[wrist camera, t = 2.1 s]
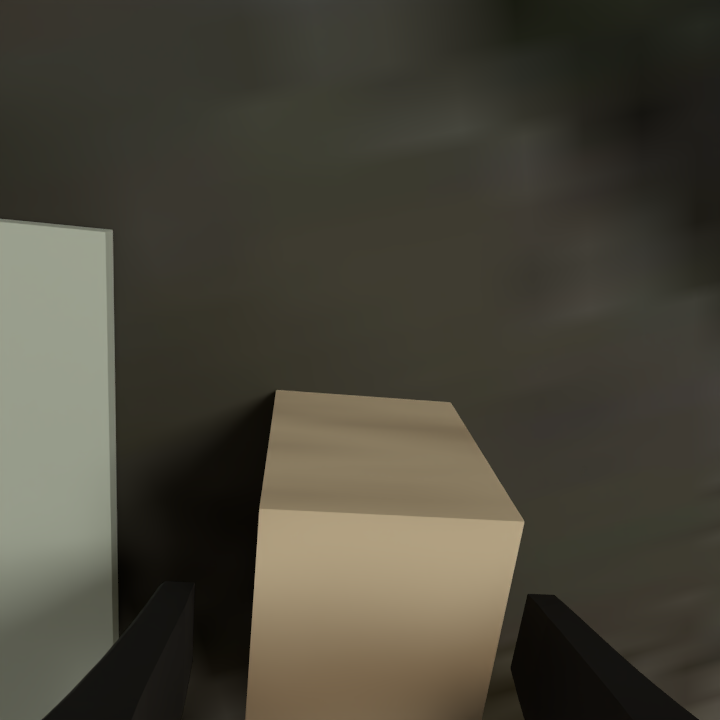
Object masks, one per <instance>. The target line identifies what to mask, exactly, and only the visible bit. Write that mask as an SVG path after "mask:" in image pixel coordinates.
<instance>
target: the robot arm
mask: <svg viewBox="0 0 720 720" xmlns="http://www.w3.org/2000/svg"><path fill="white" fill-rule="evenodd" d="M194 597H195V582H172V581H165V582H163V583H162V584H161V585H160V586H159V587H158V588H157V590H156V591H155V593H154V594H153V595H152V597H151V598H150V600H149V601H148V602H147V604H146V605H145V606H144V608H143V609H142V610H141V612H140V613H139V614H138V615H137V617H136V618H135V619H134V620H133V622H132V623H131V624H130V625H129V627H128V628H127V629H126V630H125V632H124V633H123V634H122V635H121V636H120V637H119V639H118V640H117V641H116V642H115V643H114V645H113V646H112V647H111V648H110V649H109V650H108V652H107V653H106V654H105V655H104V656H103V657H102V658H101V660H100V661H99V662H98V663H97V664H96V665H95V666H94V667H93V668H92V669H91V670H90V671H89V672H88V674H87V675H86V676H85V677H84V678H83V679H82V680H81V681H80V682H79V683H78V684H77V685H76V686H75V687H74V688H73V689H72V690H71V692H70V693H69V694H68V695H67V696H66V697H65V698H64V699H63V700H62V701H60V702H59V703H58V704H57V705H56V706H55V707H54V708H53V709H52V710H51V711H50V712H49V713H48V714H47V715H46V716H45V717H44V718H43V719H42V720H181V717H182V713H183V709H184V704H185V699H186V694H187V689H188V683H189V678H190V672H191V667H192V662H193V631H194ZM511 671H512V675H513V679H514V683H515V687H516V691H517V695H518V698H519V702H520V705H521V709H522V712H523V716H524V718H525V720H699V719H697V718H696V717H695V716H693V715H692V714H691V713H690V712H688V711H687V710H686V709H684V708H683V707H682V706H680V705H679V704H678V703H677V702H676V701H674V700H673V699H672V698H671V697H669V696H668V695H667V694H666V693H664V692H663V691H662V690H661V689H660V688H658V687H657V686H656V685H655V684H653V683H652V682H651V681H650V680H649V679H648V678H646V677H645V676H644V675H643V674H642V673H640V672H639V671H638V670H637V669H636V668H635V667H634V666H632V665H631V664H630V663H629V662H628V661H627V660H626V659H624V658H623V657H622V656H621V655H620V654H619V653H618V652H617V651H616V650H614V649H613V648H612V647H611V646H610V645H609V644H608V643H607V642H606V641H605V640H603V639H602V638H601V637H600V636H599V635H598V634H597V633H596V632H595V631H594V630H593V629H591V628H590V627H589V626H588V625H587V624H586V623H585V622H584V621H583V620H582V619H581V618H580V617H578V616H577V615H576V614H575V613H574V612H573V611H572V610H571V609H570V608H569V607H567V606H566V605H565V604H564V603H563V602H562V601H561V600H559V599H558V598H557V597H556V596H555V595H540V594H528V595H527V599H526V604H525V608H524V612H523V617H522V621H521V625H520V629H519V634H518V638H517V642H516V647H515V651H514V655H513V660H512V664H511Z"/></svg>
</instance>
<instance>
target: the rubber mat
mask: <svg viewBox="0 0 720 720" xmlns="http://www.w3.org/2000/svg"><path fill="white" fill-rule="evenodd" d="M118 639H119V620H118V553H117V485H116V417H115V349H114V281H113V230H109V229H99V228H89V227H78V226H68V225H58V224H48V223H38V222H28V221H17V220H7V219H0V720H42V719H43V718H44V717H45V716H46V715H47V714H48V713H49V712H50V711H51V710H52V709H53V708H54V707H55V706H56V705H57V704H58V703H59V702H60V701H62V700H63V699H64V698H65V697H66V696H67V695H68V694H69V693H70V692H71V690H72V689H73V688H74V687H75V686H76V685H77V684H78V683H79V682H80V681H81V680H82V679H83V678H84V677H85V676H86V675H87V674H88V672H89V671H90V670H91V669H92V668H93V667H94V666H95V665H96V664H97V663H98V662H99V661H100V660H101V658H102V657H103V656H104V655H105V654H106V653H107V652H108V650H109V649H110V648H111V647H112V646H113V645H114V643H115V642H116V641H117V640H118Z"/></svg>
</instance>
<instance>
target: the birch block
mask: <svg viewBox="0 0 720 720" xmlns="http://www.w3.org/2000/svg"><path fill="white" fill-rule="evenodd" d="M523 526H524V520H523V519H522V517H521V515H520V514H519V512H518V510H517V509H516V507H515V506H514V504H513V502H512V501H511V499H510V498H509V496H508V494H507V493H506V491H505V489H504V488H503V486H502V485H501V483H500V481H499V480H498V478H497V477H496V475H495V473H494V472H493V470H492V469H491V467H490V465H489V464H488V462H487V460H486V459H485V457H484V456H483V454H482V452H481V451H480V449H479V448H478V446H477V444H476V443H475V441H474V440H473V438H472V436H471V435H470V433H469V431H468V430H467V428H466V427H465V425H464V423H463V422H462V420H461V419H460V417H459V415H458V414H457V412H456V410H455V409H454V407H453V406H452V404H451V402H437V401H423V400H409V399H395V398H381V397H367V396H353V395H339V394H325V393H311V392H297V391H283V390H276V395H275V402H274V409H273V416H272V423H271V430H270V437H269V444H268V451H267V458H266V465H265V472H264V480H263V487H262V494H261V501H260V508H259V522H258V537H257V552H256V567H255V582H254V597H253V612H252V627H251V642H250V657H249V672H248V688H247V703H246V718H245V720H481V719H482V714H483V710H484V705H485V701H486V696H487V691H488V687H489V682H490V678H491V673H492V669H493V664H494V659H495V655H496V650H497V646H498V641H499V636H500V632H501V627H502V623H503V618H504V613H505V609H506V604H507V600H508V595H509V590H510V586H511V581H512V577H513V572H514V568H515V563H516V558H517V554H518V549H519V545H520V540H521V535H522V531H523Z"/></svg>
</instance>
